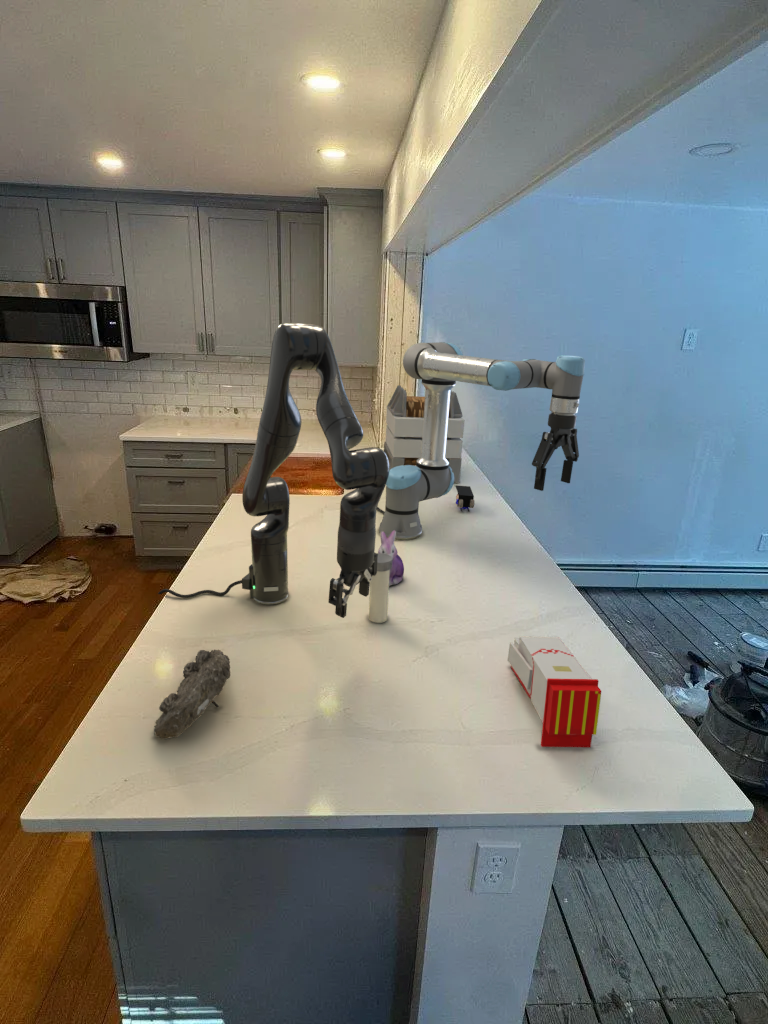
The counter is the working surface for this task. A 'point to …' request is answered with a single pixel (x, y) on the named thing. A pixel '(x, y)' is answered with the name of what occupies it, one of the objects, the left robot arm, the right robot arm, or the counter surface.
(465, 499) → the figurine character
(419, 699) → the counter surface
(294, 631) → the counter surface
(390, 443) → the grey brown slatted box
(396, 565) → the figurine
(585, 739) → the toy
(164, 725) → the fossil
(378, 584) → the jar
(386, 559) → the lid
